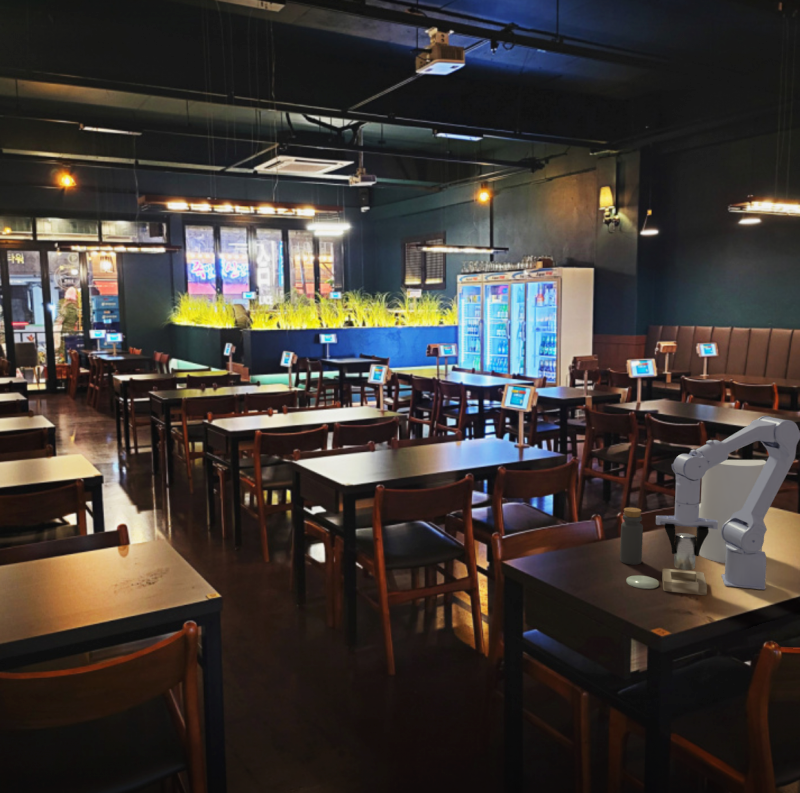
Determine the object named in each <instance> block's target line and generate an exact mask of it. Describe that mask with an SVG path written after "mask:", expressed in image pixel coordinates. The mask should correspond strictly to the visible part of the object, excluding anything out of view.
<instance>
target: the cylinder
mask: <svg viewBox="0 0 800 793" xmlns="http://www.w3.org/2000/svg"><path fill="white" fill-rule="evenodd" d="M766 461H767V460H764V459H727V460H725V461H723V462H722V463H720V464H718V465H716V466H714V467H712V468H710V469H708V470H707V471H706V473H705V475H704V476H703V477H702V478H701V485H700V502H699V518H704V519H711V520H717V521H718V529H713V528H708V530H709V533H708V535H707V536H706V538H705V540H704V542H703V544H702V546H701V549H700V552H699V556H700V557H702V558H704V559H706V560H709V561H713V562H716V563H722V564H725V560H726V545H725V540H724V539H723V538H722V536H721V529H722V526H723V525H724V523H725V522H727V521H728V520H729V519H730V518H731V516H732V514H733V513H735V512H737V511H740V510H741V509H742V508H743V506H744V504H745V502H746V500H747V498H748V496H749V494H750V492H751V490H752V488H753V487H754V485H755V483H756V481H757V479H758V477H759V475H760V473H761V471H762V469H763V467H764V465H765V463H766ZM764 519H765V518H764ZM764 519H763V521H764V522H765V520H764ZM747 526H749V525H747ZM758 551H763V546H762V547H761V549H760V550H758Z"/></svg>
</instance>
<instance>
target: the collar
mask: <svg viewBox="0 0 800 793" xmlns="http://www.w3.org/2000/svg"><path fill="white" fill-rule="evenodd" d="M661 572H662V576H661V579H662V588H663V592H671V593H680V594H681V593H682V594H689V595H690V594H691V595H698V596H699V595H701V596H707V594H708V593H707V591H708V588H707V587H708V585H707V582H706V581H707V580H706V578H705V574H704V572H702V571H694V570H693V571H692V570H683V569H674V568H673V569H672V568H662V570H661Z"/></svg>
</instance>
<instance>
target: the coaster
mask: <svg viewBox="0 0 800 793" xmlns="http://www.w3.org/2000/svg"><path fill="white" fill-rule="evenodd" d="M626 584H627V585H629V586H631V587H634V588H637V589H645V590H648V589H649V590H652V589H653V590H654V589H656V588H658V587H659V586H660V581H659V580H657V579H656V578H653V577H650V576H647V575H631V576H628V577H627V578H626Z"/></svg>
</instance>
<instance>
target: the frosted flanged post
mask: <svg viewBox="0 0 800 793" xmlns="http://www.w3.org/2000/svg"><path fill="white" fill-rule="evenodd" d="M673 555H674V558H673V559H674V560H673V562H674V563H673V566H674V567H675V568H677V570H685V571H692V570H693V571H694V570H695V568H696V557H697V556H696V535H694V534H692V533H688V532H687V533H685V532H683V533H682V532H679V533H675V554H673Z"/></svg>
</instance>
